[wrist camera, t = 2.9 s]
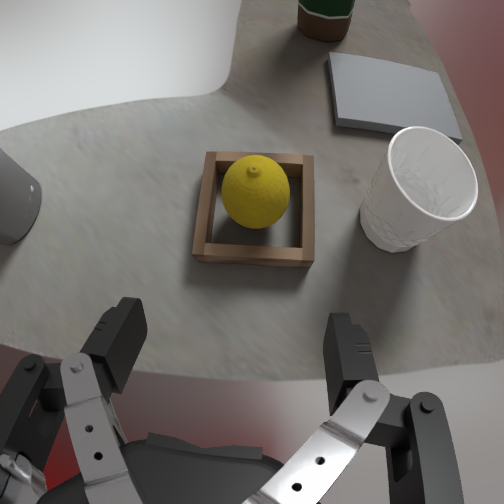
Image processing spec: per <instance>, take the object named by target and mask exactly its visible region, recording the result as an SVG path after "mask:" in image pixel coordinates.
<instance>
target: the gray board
mask: <svg viewBox="0 0 504 504" xmlns="http://www.w3.org/2000/svg"><path fill="white" fill-rule="evenodd" d="M328 65H329V72H330V80H331V87H332V95H333V104H334V113H335V123H336V126H341V127H350V128H358V129H366V130H373V131H380V132H387V133H393V134H397V133H398V132H399V131H401V130H402V129H405V128H408V127H414V126H420V127H426V128H430V129H433V130H436V131H438V132H440V133H442V134H444V135H445V136H447V137H448V138H450V139H451V140H452V141H453V142H454V143H456V144H457V145H459V144H460V142H461V141H462V140H463V139H462V136H461V133H460V130H459V127H458V124H457V121H456V118H455V115H454V113H453V110H452V107H451V104H450V102H449V99H448V97H447V94H446V92H445V89H444V87H443V84H442V82H441V80H440V77H439V75H438V73H435V72H431V71H428V70H424V69H420V68H416V67H412V66H408V65H404V64H399V63H395V62H390V61H385V60H380V59H375V58H369V57H363V56H357V55H351V54H343V53H336V52H329V55H328Z"/></svg>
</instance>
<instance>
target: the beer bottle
mask: <svg viewBox="0 0 504 504" xmlns="http://www.w3.org/2000/svg"><path fill="white" fill-rule="evenodd" d="M354 2H355V0H299V3H298V27H299V28H300V29H301V30H302V32H303V33H304V34H305V35H306V36H307V37H310V38H313V39H316V40H320V41H323V42H331V41H341V40H343V38H344V37H345V35H346V33H347V31H348V29H349V25H350V22H351V17H352V12H353V7H354Z"/></svg>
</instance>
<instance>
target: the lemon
mask: <svg viewBox="0 0 504 504" xmlns="http://www.w3.org/2000/svg"><path fill="white" fill-rule="evenodd" d="M289 199H290V187H289V183H288V179H287V176H286V174H285V173H284V171H283V169H282V168H281V167H280V166H279V165H278V164H277V163H276V162H275V161H274V160H272V159H270V158H268V157H265V156H262V155H250V156H246V157H243V158H241V159H239V160H237V161H236V162H234V163H233V164H232V165H231V166H230V168H229V169H228V171H227V172H226V174H225V176H224V180H223V184H222V200H223V203H224V207H225V209H226V211H227V212H228V214H229V215H230V217H231V218H232V219H233V220H234V221H236V222H237V223H238V224H240V225H242V226H244V227H247V228H252V229H260V228H265V227H268V226H270V225H272V224H274V223H275V222H276V221H277V220H279V219H280V218H281V217H282V215H283V214H284V212H285V211H286V209H287V206H288V203H289Z"/></svg>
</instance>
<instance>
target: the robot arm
mask: <svg viewBox="0 0 504 504" xmlns="http://www.w3.org/2000/svg"><path fill="white" fill-rule="evenodd" d="M40 203H41V188H40V185H39V183H38V182H37V180H36V179H35V178H34V177H32V176H31V175H30V174H29V173H28V172H26V171H25V170H24V169H23V168H22V167H21V166H19V165H18V164H17V163H16V162H15V161H14V160H13V159H12V158H10V157H9V156H8V155H7V154H6V153H5V152H4V151H3V150H1V149H0V242H1V243H3V244H13V243H15V242H17V241H18V240H20V239H21V238H22V237H23V236H24V235H25V234H26V233H27V232H28V231H29V229H30V228H31V226H32V224H33V223H34V221H35V219H36V217H37V214H38V211H39V208H40ZM146 336H147V323H146V319H145V314H144V310H143V305H142V301H141V300H140V299H139V298H130V297H123V298H122V299H121V301H120V302H119V304H118V305H117V307H111V308H110V309H109V310H108V311H106V312H105V313H104V314H103V315H102V317H101V318H100V320H99V323H97V325H96V326H95V328H94V330H93V331H92V333H91V334H90V336H89V338H88V339H87V341H86V342H85V344H84V346H83V347H82V349H81V351H80V352H79V353H73V354H71V355H69V356H67V357H66V358H65V359H64V360H63V361H62V363H52V364H46V363H45V361H44V360H43V358H42V357H41V356H39V355H36V354H32V355H28V356H26V357H24V358H23V359H22V360H21V361H20V362H19V364H18V365H17V367H16V368H15V370H14V372H13V374H12V375H11V377H10V379H9V381H8V382H7V384H6V386H5V387H4V389H3V391H2V393H1V395H0V504H321V503H320V502H319V501H320V499H321V498H322V497H323V496H324V495H325V494H326V492H327V491H328V490H329V489H330V487H331V486H332V485H333V484H334V482H335V481H336V480H337V478H338V477H339V476H340V475H341V473H342V472H343V471H344V469H345V468H346V467H347V465H348V464H349V462H350V461H351V460H352V458H353V457H354V455H355V454H356V453H357V451H358V450H359V449H360V447H361V446H362V444H363V443H364V442H365V443H369V444H374V445H378V446H383V447H385V449H386V458H387V468H388V481H389V496H390V504H464V499H463V492H462V486H461V480H460V475H459V470H458V465H457V460H456V455H455V451H454V446H453V442H452V437H451V433H450V429H449V426H448V421H447V418H446V414H445V411H444V407H443V404H442V402H441V400H440V399H439V398H438V397H437V396H436V395H434V394H432V393H429V392H420V393H417V394H416V395H414V396H413V398H412V399H409V398H404V397H399V396H395V395H393V394H390V393H389V391H388V389H387V388H386V387H385V386H384V385H383V384H381V383H380V382H379V378H378V374H377V370H376V366H375V362H374V359H373V355H372V353H371V347H370V345H369V340H368V337H367V334H366V332H365V331H364V330H363V329H362V328H361V326H360V325H352V324H351V320H350V316H349V314H348V313H330V315H329V319H328V324H327V328H326V333H325V337H324V343H323V355H324V364H325V372H326V381H327V391H328V400H329V411H330V416H332V417H331V418H330V419H329V420H328V421H327V422H324V423H323V424H322V425H320V427H319V428H318V429H317V430H316V431H315V432H314V433H313V435H312V436H311V437H310V438H309V439H308V440H307V441H306V443H305V444H304V445H303V446H302V447H301V448H300V449H299V450H298V451H297V452H296V453H295V455H294V456H293V457H292V458H291V459H290V460H289V461H288V462H287V463H286V464H285V465H284V464H283V463H281V462H280V461H278V460H276V459H274V458H272V457H269V456H266V455H263V454H262V447H247V446H236V445H232V446H223V447H213V448H200V447H198V446H195V445H192V444H190V443H187V442H185V441H183V440H180V439H178V438H175V437H170V436H164V435H159V434H154V433H148V437H147V439H144V440H137V441H133V442H130V443H128V441H127V440H126V438H125V436H124V433H123V431H122V429H121V426H120V424H119V421H118V418H117V416H116V413H115V411H114V408H113V405H112V402H111V400H110V396H111V394H112V392H114V393H118V394H122V391H123V389H124V386H125V384H126V382H127V380H128V377H129V375H130V372H131V370H132V368H133V366H134V364H135V361H136V359H137V357H138V355H139V352H140V350H141V348H142V346H143V344H144V341H145V339H146ZM36 400H37V403H36V405H35V407H34V409H33V412H32V413H31V416H30V418H29V414H30V412H31V409H32V407H33V405H34V403H35V401H36ZM64 416H66V420H67V424H68V428H69V432H70V436H71V440H72V444H73V447H74V451H75V454H76V457H77V460H78V464H79V467H80V470H81V472H79V473H78V474H76V475H74V476H73V477H71V478H70V479H68V480H66V481H64V482H63V483H61V484H59V485H58V486H56V487H54V488H52V489H51V490H49V491H47V487H46V480H45V477H44V475H43V470H44V467H45V465H46V462H47V459H48V456H49V454H50V451H51V448H52V446H53V443H54V440H55V438H56V436H57V433H58V431H59V428H60V426H61V423H62V421H63V418H64Z"/></svg>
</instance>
